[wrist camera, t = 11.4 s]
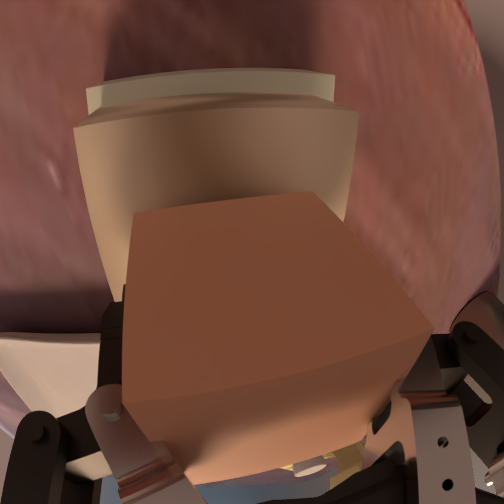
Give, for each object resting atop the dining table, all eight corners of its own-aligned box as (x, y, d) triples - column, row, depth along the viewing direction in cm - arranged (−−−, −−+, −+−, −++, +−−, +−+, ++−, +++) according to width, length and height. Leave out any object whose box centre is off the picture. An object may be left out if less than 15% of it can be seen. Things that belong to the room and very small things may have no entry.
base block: (298, 68, 16) (335, 75, 13) (288, 227, 23) (314, 265, 19) (104, 81, 14) (86, 88, 11) (131, 248, 20) (127, 293, 17)
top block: (306, 93, 13) (359, 111, 10) (292, 255, 18) (325, 309, 15) (100, 105, 11) (73, 127, 8) (131, 277, 16) (129, 341, 13)
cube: (312, 191, 10) (434, 328, 5) (298, 314, 13) (360, 440, 8) (133, 212, 9) (122, 402, 4) (164, 338, 12) (185, 485, 7)
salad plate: (64, 426, 31) (64, 449, 29) (-12, 311, 20) (-24, 341, 17) (222, 418, 37) (228, 441, 34) (229, 297, 25) (239, 329, 22)
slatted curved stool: (365, 437, 61) (395, 498, 47) (305, 467, 63) (329, 527, 49) (331, 408, 43) (377, 507, 29) (242, 449, 45) (272, 544, 30)
